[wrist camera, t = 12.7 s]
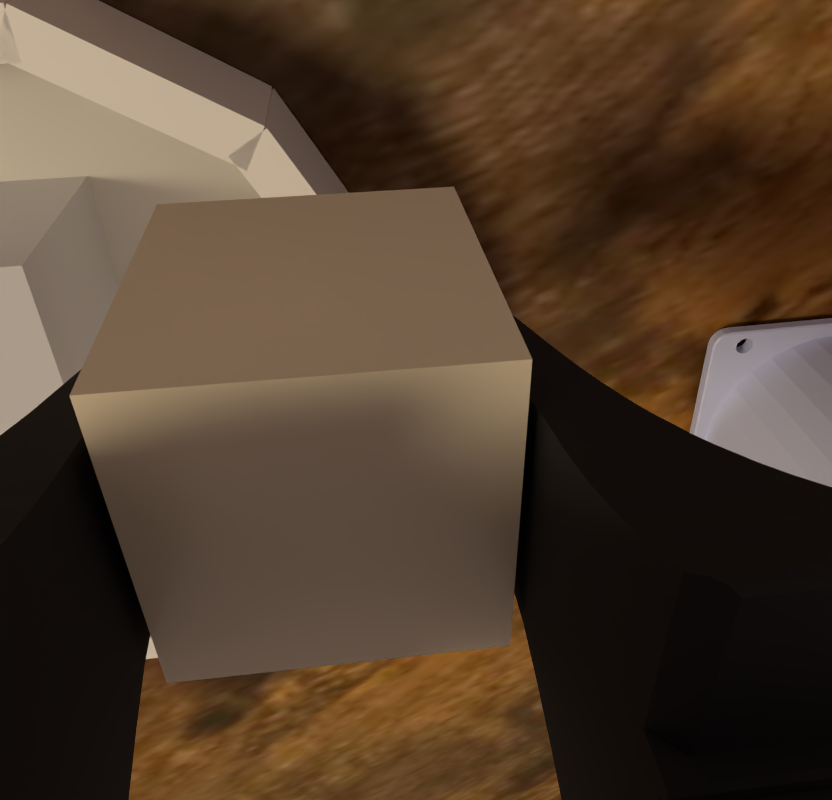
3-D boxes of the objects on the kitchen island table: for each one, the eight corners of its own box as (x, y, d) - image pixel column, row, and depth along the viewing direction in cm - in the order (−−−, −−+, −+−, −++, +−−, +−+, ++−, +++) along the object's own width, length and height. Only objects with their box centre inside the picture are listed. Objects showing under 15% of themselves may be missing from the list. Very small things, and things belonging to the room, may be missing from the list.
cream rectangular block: (453, 186, 12) (532, 359, 7) (452, 421, 14) (510, 645, 10) (156, 204, 11) (69, 394, 7) (209, 441, 14) (166, 683, 10)
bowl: (368, -38, 17) (380, -20, 14) (406, 548, 28) (417, 626, 25) (-526, 12, 16) (-711, 44, 13) (-127, 607, 26) (-180, 697, 24)
